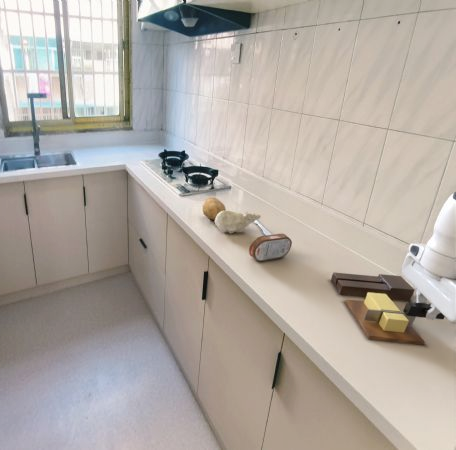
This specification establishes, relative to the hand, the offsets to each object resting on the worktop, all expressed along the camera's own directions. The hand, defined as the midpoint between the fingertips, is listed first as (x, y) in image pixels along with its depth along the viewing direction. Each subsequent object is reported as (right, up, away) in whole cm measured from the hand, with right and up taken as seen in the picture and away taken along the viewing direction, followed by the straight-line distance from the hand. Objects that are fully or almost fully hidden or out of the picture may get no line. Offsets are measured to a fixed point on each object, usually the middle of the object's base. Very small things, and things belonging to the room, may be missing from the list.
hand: (424, 313), depth 79 cm
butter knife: (-22, +21, +58) cm, 65 cm away
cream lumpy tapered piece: (-32, +19, +52) cm, 64 cm away
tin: (-26, +10, +32) cm, 42 cm away
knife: (-4, -3, +2) cm, 6 cm away
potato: (-39, +23, +62) cm, 77 cm away
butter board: (-7, -3, +4) cm, 9 cm away
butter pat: (-7, -4, +1) cm, 8 cm away
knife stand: (-3, +2, +17) cm, 17 cm away
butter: (-7, -1, +6) cm, 9 cm away
